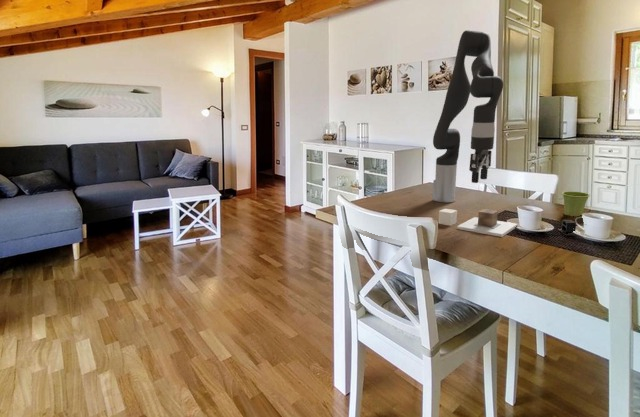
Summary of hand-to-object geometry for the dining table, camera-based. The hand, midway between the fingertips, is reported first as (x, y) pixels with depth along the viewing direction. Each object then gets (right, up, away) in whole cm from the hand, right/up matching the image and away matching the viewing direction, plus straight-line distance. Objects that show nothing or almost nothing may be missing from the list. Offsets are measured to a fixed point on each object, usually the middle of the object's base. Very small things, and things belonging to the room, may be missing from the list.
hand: (479, 180), depth 152 cm
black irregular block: (+29, -19, -6) cm, 35 cm away
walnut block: (+3, -16, +1) cm, 16 cm away
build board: (+4, -17, +2) cm, 18 cm away
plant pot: (+44, -13, +16) cm, 48 cm away
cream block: (-9, -16, +9) cm, 20 cm away
